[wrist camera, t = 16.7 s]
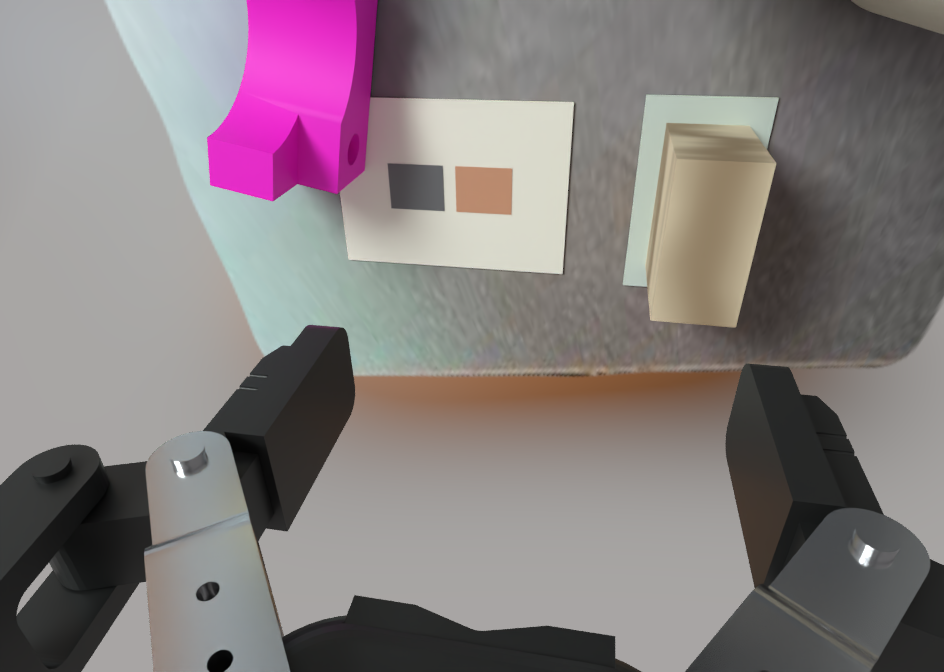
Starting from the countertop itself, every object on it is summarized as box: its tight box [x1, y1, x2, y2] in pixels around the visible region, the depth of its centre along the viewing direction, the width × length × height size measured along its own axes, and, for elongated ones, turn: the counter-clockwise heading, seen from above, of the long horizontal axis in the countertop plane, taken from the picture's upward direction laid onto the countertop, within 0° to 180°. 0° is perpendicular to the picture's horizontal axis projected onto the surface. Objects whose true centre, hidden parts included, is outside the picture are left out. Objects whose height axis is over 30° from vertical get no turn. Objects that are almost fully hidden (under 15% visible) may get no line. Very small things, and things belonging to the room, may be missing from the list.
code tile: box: [340, 97, 574, 274], centre depth 41 cm, size 11×15×1 cm
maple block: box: [645, 123, 776, 327], centre depth 35 cm, size 4×9×7 cm, turn 0°
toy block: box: [207, 0, 378, 201], centre depth 34 cm, size 15×6×8 cm, turn 170°
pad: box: [623, 95, 779, 287], centre depth 38 cm, size 12×7×1 cm, turn 1°
